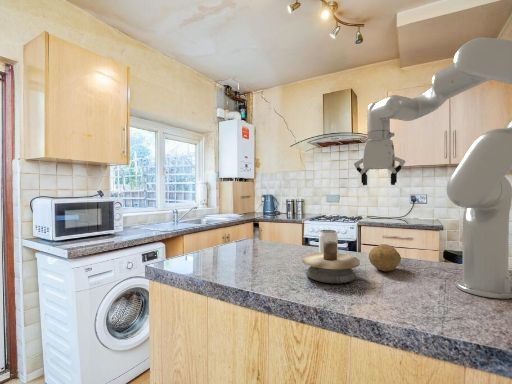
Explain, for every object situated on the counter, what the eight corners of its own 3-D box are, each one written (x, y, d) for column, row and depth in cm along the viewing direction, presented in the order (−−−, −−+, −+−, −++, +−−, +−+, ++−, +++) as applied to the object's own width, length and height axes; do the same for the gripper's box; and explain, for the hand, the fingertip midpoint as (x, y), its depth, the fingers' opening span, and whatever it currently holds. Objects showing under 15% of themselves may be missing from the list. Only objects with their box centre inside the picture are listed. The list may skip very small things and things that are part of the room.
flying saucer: (310, 287, 81) (310, 267, 81) (302, 271, 96) (302, 255, 96) (364, 287, 81) (364, 267, 81) (347, 271, 96) (347, 255, 96)
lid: (364, 258, 91) (364, 240, 91) (352, 272, 77) (352, 250, 76) (312, 252, 100) (312, 236, 100) (293, 264, 85) (293, 244, 85)
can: (339, 266, 100) (339, 232, 100) (321, 266, 100) (320, 232, 100) (335, 261, 107) (334, 229, 107) (317, 261, 107) (317, 229, 107)
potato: (365, 273, 92) (365, 248, 92) (371, 263, 104) (371, 241, 104) (399, 278, 87) (399, 252, 87) (401, 267, 99) (401, 243, 99)
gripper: (407, 136, 101) (407, 184, 102) (357, 141, 112) (358, 185, 112) (402, 133, 96) (402, 184, 96) (351, 138, 106) (351, 185, 106)
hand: (378, 185), depth 104 cm, fingers open, 9 cm apart
